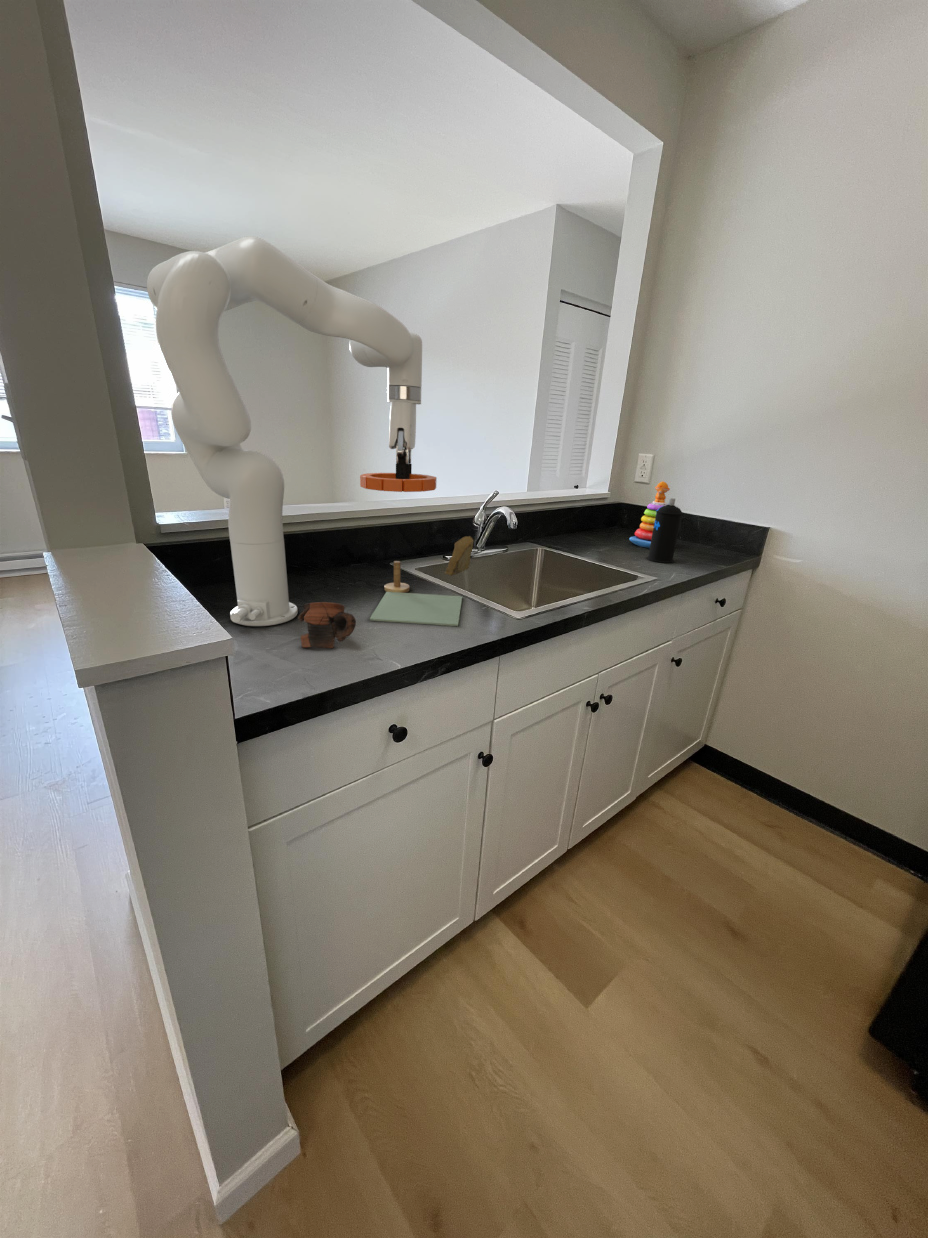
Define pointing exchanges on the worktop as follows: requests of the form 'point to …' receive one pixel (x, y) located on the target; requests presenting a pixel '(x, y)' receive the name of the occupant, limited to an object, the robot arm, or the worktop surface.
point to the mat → (418, 609)
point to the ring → (397, 482)
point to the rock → (460, 556)
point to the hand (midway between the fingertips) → (403, 480)
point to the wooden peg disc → (397, 581)
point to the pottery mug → (325, 624)
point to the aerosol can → (665, 533)
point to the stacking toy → (650, 517)
